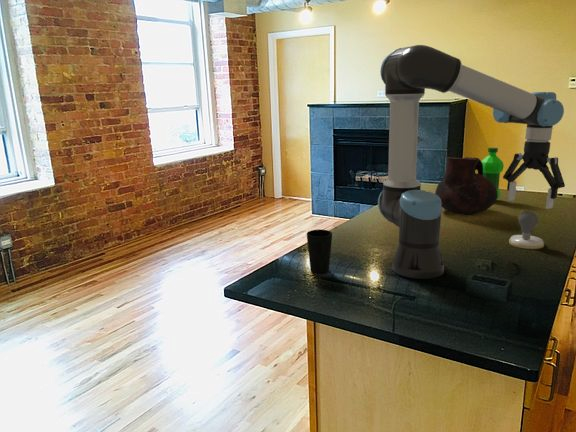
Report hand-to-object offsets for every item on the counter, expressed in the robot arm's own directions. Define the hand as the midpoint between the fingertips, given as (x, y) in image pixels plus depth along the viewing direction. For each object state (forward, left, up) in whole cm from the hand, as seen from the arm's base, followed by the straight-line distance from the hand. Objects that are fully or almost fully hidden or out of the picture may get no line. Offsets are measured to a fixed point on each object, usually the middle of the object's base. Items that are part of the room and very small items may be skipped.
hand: (529, 204), depth 160 cm
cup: (-75, +8, -15) cm, 76 cm away
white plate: (0, 0, -14) cm, 14 cm away
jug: (+11, +43, -15) cm, 47 cm away
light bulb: (0, 0, -13) cm, 13 cm away
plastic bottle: (+36, +55, -15) cm, 67 cm away
